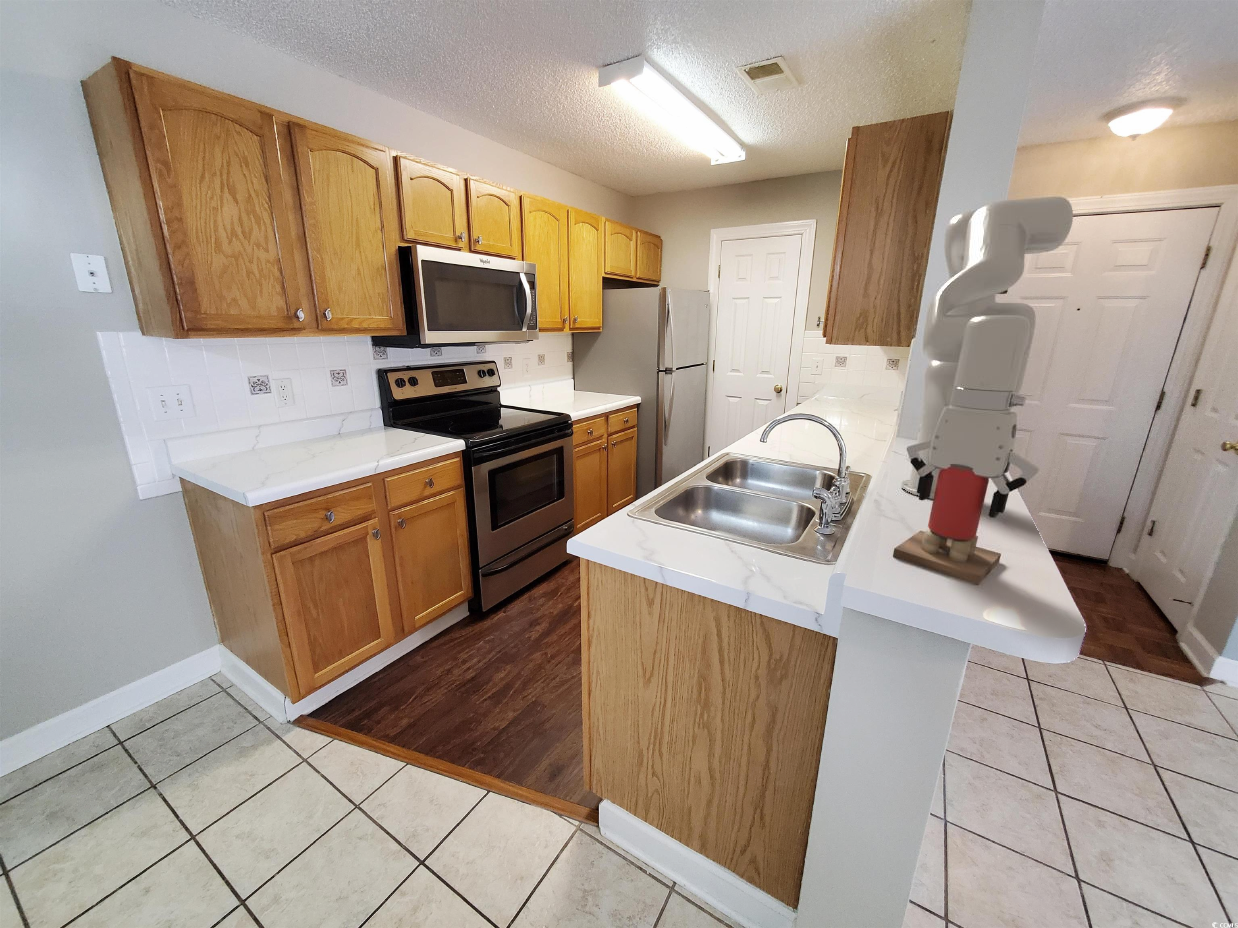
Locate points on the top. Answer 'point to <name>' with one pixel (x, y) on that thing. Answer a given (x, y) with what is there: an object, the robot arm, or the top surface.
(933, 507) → the beer can
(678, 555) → the top surface
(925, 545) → the peg stand
